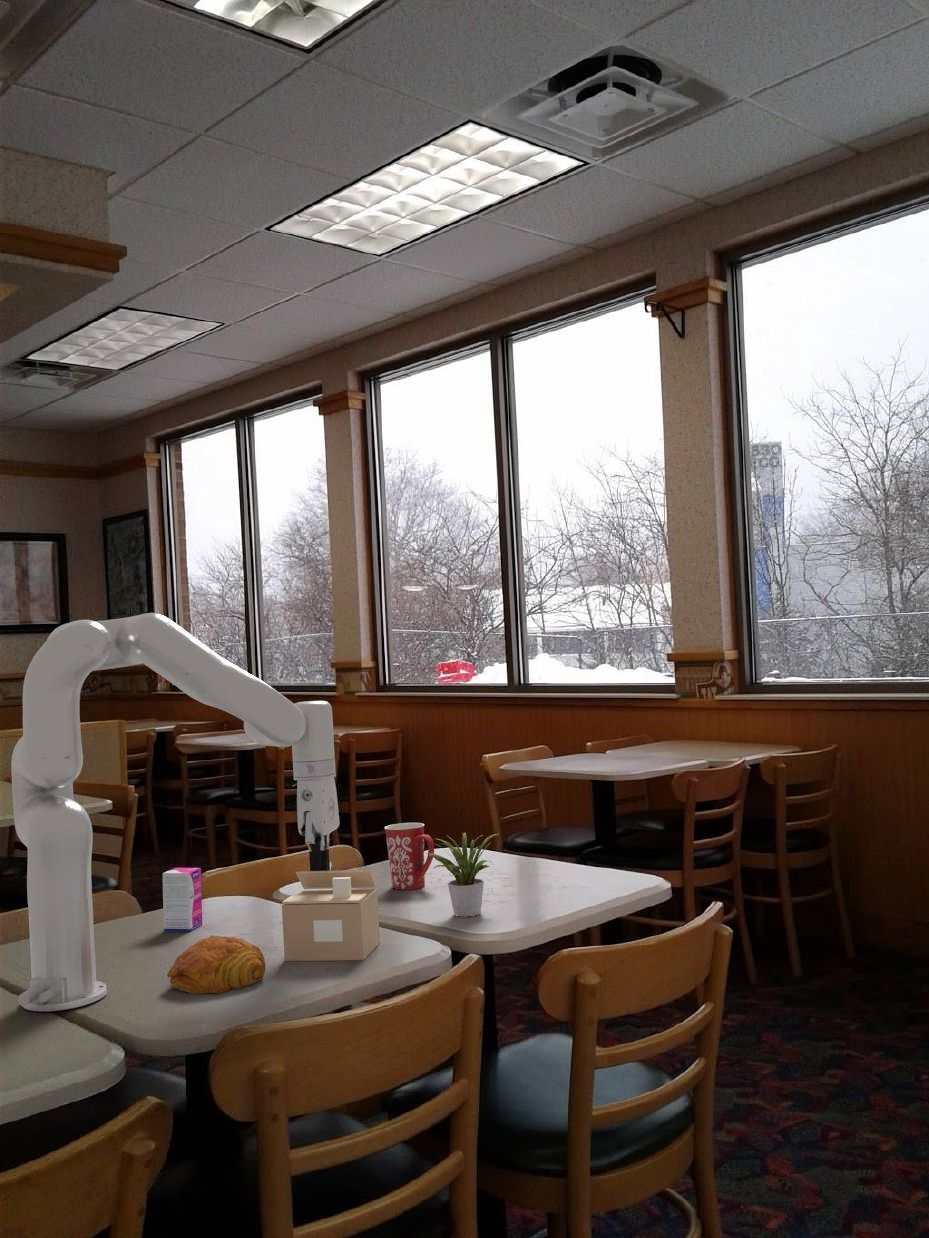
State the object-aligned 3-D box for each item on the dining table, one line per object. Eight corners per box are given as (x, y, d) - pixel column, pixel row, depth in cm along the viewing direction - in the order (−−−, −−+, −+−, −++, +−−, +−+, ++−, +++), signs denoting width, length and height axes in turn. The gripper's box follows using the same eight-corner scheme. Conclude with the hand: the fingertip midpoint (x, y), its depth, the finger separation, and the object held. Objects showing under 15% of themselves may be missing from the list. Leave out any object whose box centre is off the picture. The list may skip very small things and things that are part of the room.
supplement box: (191, 932, 212) (188, 872, 212) (163, 932, 213) (160, 873, 213) (204, 924, 217) (201, 866, 218) (176, 924, 218) (173, 867, 219)
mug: (379, 888, 242) (375, 827, 242) (408, 880, 248) (405, 821, 249) (418, 894, 233) (414, 831, 234) (448, 886, 240) (444, 824, 240)
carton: (363, 960, 184) (360, 903, 185) (284, 960, 187) (281, 904, 187) (379, 942, 195) (376, 889, 196) (304, 943, 198) (302, 890, 198)
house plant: (482, 900, 224) (477, 820, 224) (521, 911, 212) (516, 827, 213) (422, 912, 216) (417, 830, 217) (459, 925, 205) (454, 837, 205)
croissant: (224, 977, 187) (218, 930, 188) (283, 977, 177) (276, 927, 178) (151, 999, 176) (146, 948, 177) (209, 1000, 166) (203, 946, 167)
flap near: (292, 897, 192) (291, 876, 192) (367, 895, 190) (366, 874, 190) (282, 904, 187) (281, 882, 187) (359, 902, 185) (357, 881, 185)
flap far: (369, 871, 192) (372, 854, 195) (296, 873, 195) (299, 856, 197) (376, 887, 196) (379, 870, 199) (303, 889, 198) (307, 871, 201)
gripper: (321, 774, 188) (327, 881, 188) (346, 764, 203) (352, 863, 202) (280, 775, 189) (285, 881, 189) (308, 766, 204) (313, 864, 204)
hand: (320, 872), depth 196 cm, fingers closed
